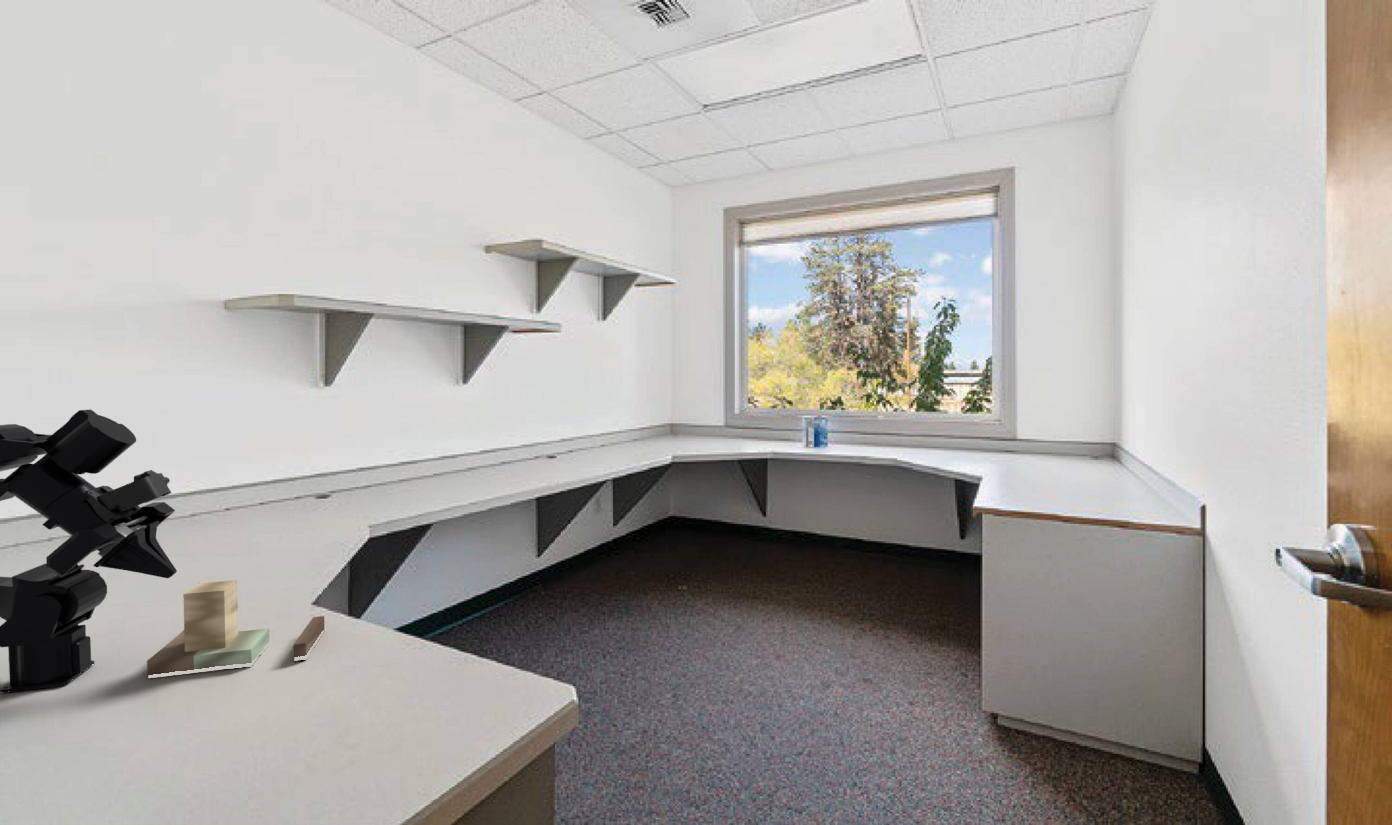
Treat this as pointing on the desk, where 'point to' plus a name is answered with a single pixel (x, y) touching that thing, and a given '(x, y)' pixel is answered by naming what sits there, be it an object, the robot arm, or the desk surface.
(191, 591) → the beech block
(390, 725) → the desk surface
